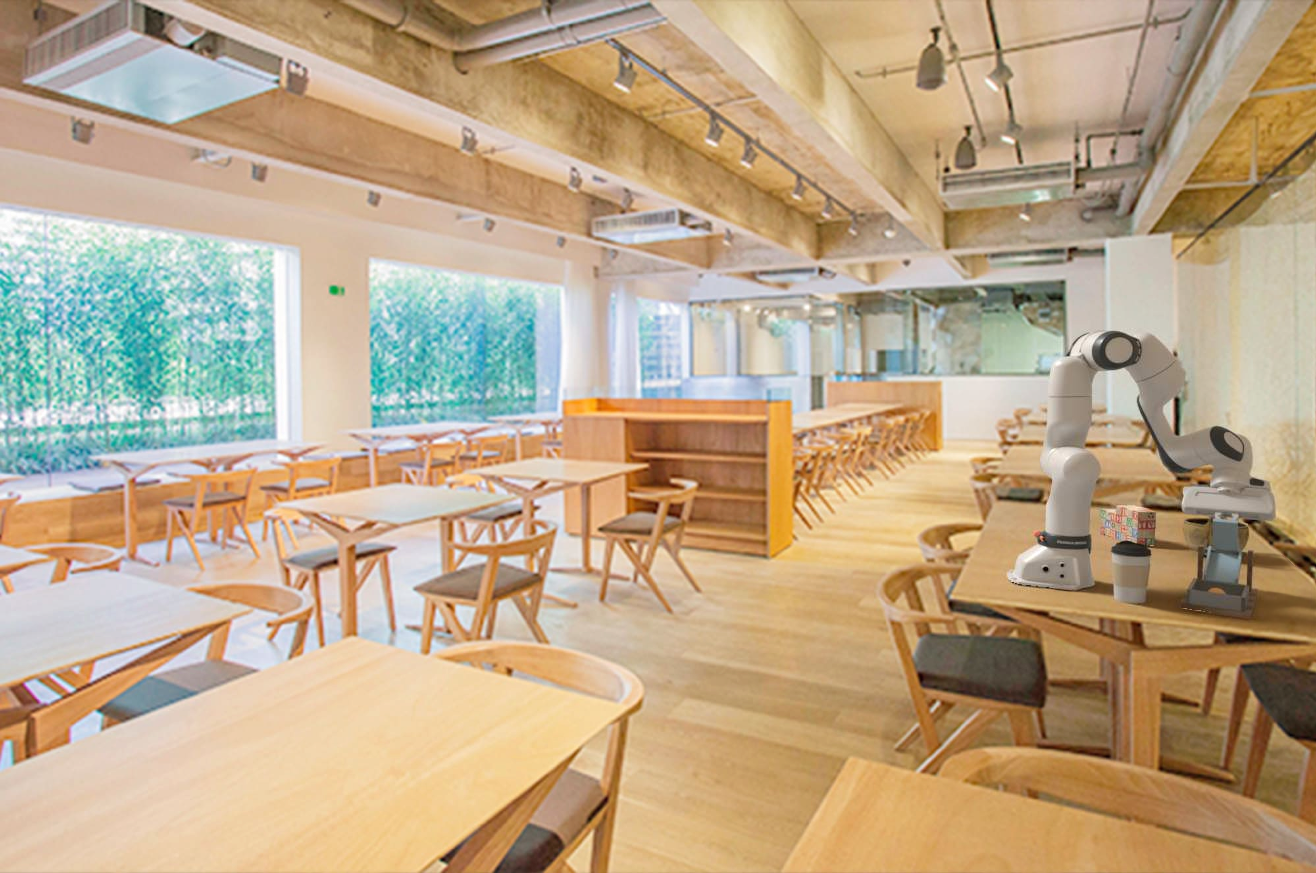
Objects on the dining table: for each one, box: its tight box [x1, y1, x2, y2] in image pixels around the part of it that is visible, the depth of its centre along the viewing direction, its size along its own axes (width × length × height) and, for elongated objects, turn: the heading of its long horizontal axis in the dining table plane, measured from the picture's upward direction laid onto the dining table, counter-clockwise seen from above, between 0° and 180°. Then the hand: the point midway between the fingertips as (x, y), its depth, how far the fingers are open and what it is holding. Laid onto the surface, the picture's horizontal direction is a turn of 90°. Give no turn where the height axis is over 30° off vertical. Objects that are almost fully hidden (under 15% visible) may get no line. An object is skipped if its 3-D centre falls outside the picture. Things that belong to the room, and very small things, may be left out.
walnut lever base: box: [1179, 545, 1259, 620], centre depth 196 cm, size 26×14×12 cm, turn 139°
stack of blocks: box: [1100, 504, 1157, 547], centre depth 268 cm, size 21×6×12 cm, turn 1°
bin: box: [1186, 577, 1249, 612], centre depth 192 cm, size 14×12×4 cm
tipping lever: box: [1203, 518, 1247, 585], centre depth 201 cm, size 18×9×16 cm, turn 138°
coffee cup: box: [1110, 541, 1152, 605], centre depth 199 cm, size 9×9×15 cm
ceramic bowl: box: [1182, 516, 1250, 557], centre depth 243 cm, size 22×17×15 cm
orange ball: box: [1208, 588, 1226, 594], centre depth 189 cm, size 4×4×4 cm
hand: (1225, 528), depth 201 cm, fingers closed, pressing on tipping lever
